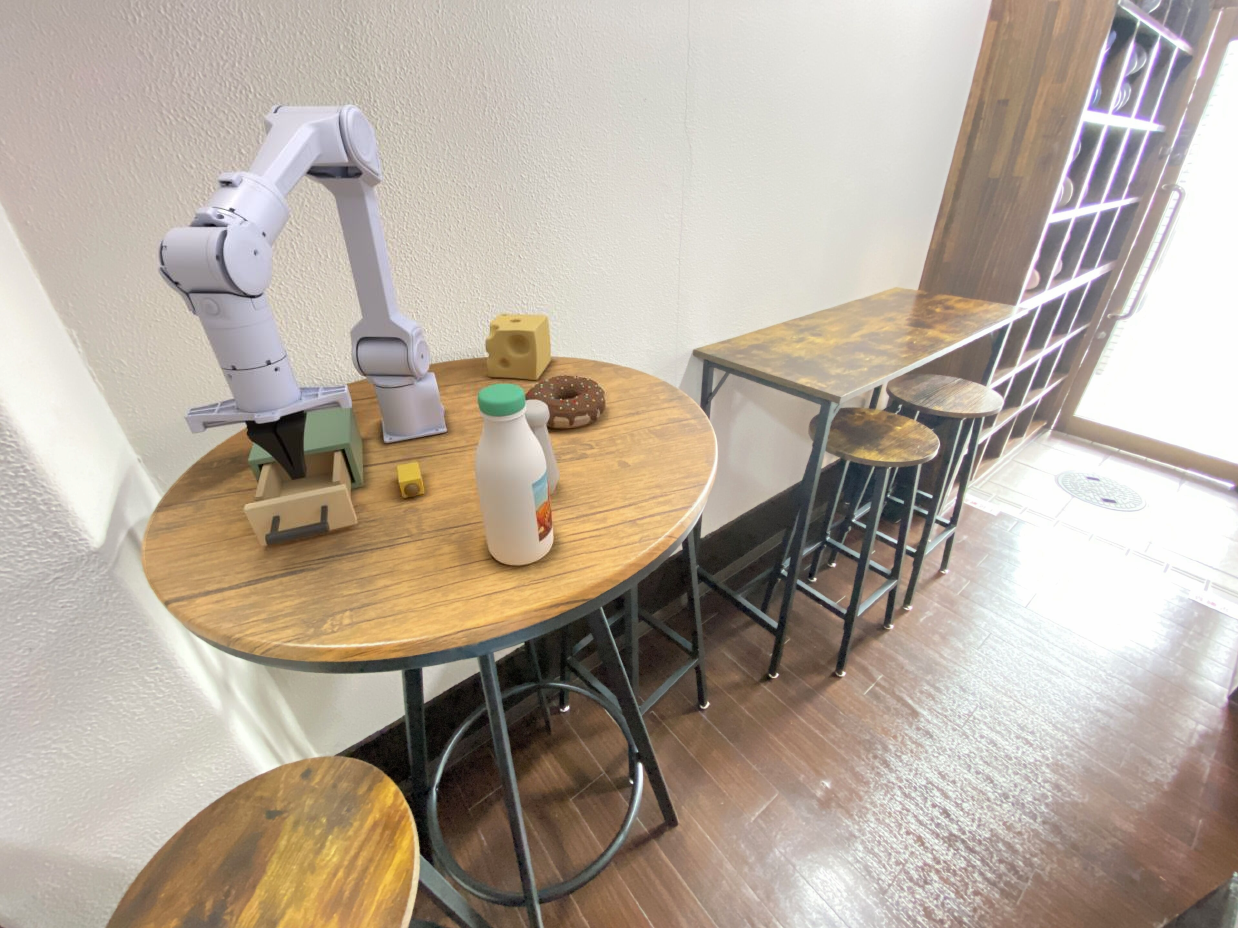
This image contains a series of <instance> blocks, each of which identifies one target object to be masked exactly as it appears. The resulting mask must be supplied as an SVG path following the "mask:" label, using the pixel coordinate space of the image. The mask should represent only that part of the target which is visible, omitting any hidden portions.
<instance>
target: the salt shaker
mask: <svg viewBox="0 0 1238 928" xmlns="http://www.w3.org/2000/svg"><path fill="white" fill-rule="evenodd" d="M525 402H526V403H525V406H526V412H525V413H524V414H525V418H526V421H527V423H528V425H529V427H530V429H531V431H532V432H533V434H534V435H535V437H536V438H537V440H538V441H539V443H540V445H541V447H542V450H543V452H544V456H545V460H546V466H547V473H548V483H549V492H550V496H551V495H553V494H554V492H555V491H556V488H557V485H558V483H559V481H560V478H561V473H560V470H559V466H558V462H557V459H556V454H555V451H554V448H553V445H552V441H551V438H550V434H549V430H548V426H546V423H547V422H548V420H549V410H548V406H547V404H545V403H544V402H542V401H540V400H526V401H525Z"/></svg>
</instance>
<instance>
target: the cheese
mask: <svg viewBox="0 0 1238 928" xmlns="http://www.w3.org/2000/svg"><path fill="white" fill-rule="evenodd" d="M550 332H551V331H550V324H549V317H548V315H545V314H517V313H504V312H502V313H500V314H499V315H497V316H496V317H495V318H494V319H492V321H491V322H490V323H489V335H488V336H487V337H486V340H485V344H484V345H485V352H486V353H487V354H488V357H487V359H486V371H487V374H488V377H489V378H508V379H520V380H531V381H538V380H539V378H540V376H542V374H543V372H544V371H545V370H546V368H547V367H548V365H549V364H550V363H551V361H552V349H551V346H552V345H551V333H550Z"/></svg>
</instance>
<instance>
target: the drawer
mask: <svg viewBox="0 0 1238 928" xmlns="http://www.w3.org/2000/svg"><path fill="white" fill-rule="evenodd" d="M304 457H305V463H306V467H307V472H306V477H305V478H300V479H295V480H292V479H291V478H290V476H289V475H288V473H287V472H286V471H285V470H284V468H283V467H282V466H281V465H280V464H279V463H278V462H277V461H275V462H269V463H264V464H263V467H262V471H261V475H260V479H259V483H257V487H256V490H255V494H254V502H249V503H245V504H244V507H243V512H244V514H245V517H246V518H247V520H248V523H249V524H250V527H251V528H252V531H253V533H254V534H255V537H256V539H257V541H258V543H259V545H260V546H266V545H267V547H273V546H277V545H282V544H287V543H291V542H296V541H300V540H304V539H309V538H313V537H317V536H321V535H326V534H330V533H331V531H332V530H336V529H340V528H345V527H349V526H353V525H357V524H358V517H357V514H356V510H355V508H354V505H353V502H352V498H351V497H352V496H351V495H352V493H351V492H352V491H351V490H352V489H351V470H350V467H349V464H348V461H347V458H346V455H345V451H344V449H339V450H334V451H329V452H323V453H318V454H312V455H307V456H304Z"/></svg>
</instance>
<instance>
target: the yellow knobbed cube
mask: <svg viewBox="0 0 1238 928" xmlns="http://www.w3.org/2000/svg"><path fill="white" fill-rule="evenodd" d="M396 472H397V479H398V485H399V489H400V492H401V497H402V499H405V498H414V497H417V496H421V495H424V494H425V493H426V492H425V487H424V483H423V482H424V481H423V477H422V473H421V469H420V465H419V462H418V461H414V462H409V463H404V464H398V465H396Z"/></svg>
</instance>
